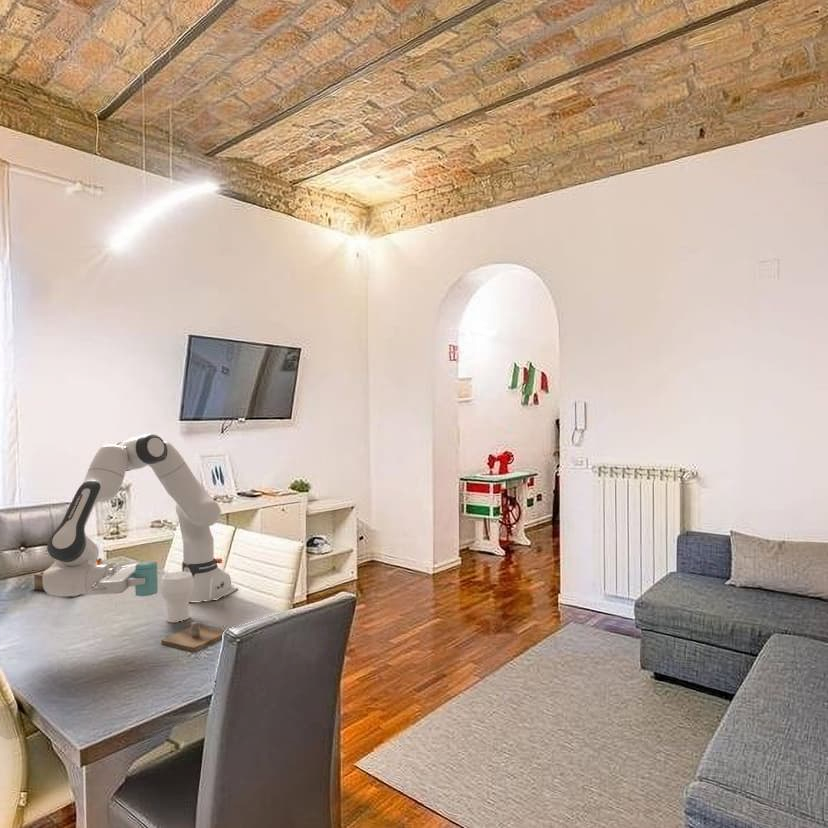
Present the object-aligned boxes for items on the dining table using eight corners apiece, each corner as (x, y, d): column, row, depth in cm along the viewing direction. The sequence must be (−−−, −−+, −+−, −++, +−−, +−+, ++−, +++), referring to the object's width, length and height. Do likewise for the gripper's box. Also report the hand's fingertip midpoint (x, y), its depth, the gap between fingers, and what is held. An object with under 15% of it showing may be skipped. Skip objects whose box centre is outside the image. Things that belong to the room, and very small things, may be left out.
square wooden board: (196, 628, 195) (196, 612, 195) (228, 635, 189) (228, 619, 189) (161, 644, 182) (160, 627, 182) (194, 651, 176) (194, 634, 176)
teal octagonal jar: (148, 589, 186) (147, 560, 186) (161, 591, 184) (161, 562, 183) (131, 594, 181) (131, 565, 181) (145, 597, 178) (144, 567, 178)
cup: (174, 626, 197) (173, 581, 197) (154, 620, 203) (153, 577, 202) (201, 616, 206) (200, 573, 206) (181, 611, 212) (180, 569, 211)
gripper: (87, 578, 170) (138, 576, 172) (113, 560, 190) (158, 558, 192) (88, 600, 170) (139, 597, 172) (113, 579, 190) (158, 577, 192)
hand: (149, 576), depth 182 cm, fingers closed on teal octagonal jar, 6 cm apart
